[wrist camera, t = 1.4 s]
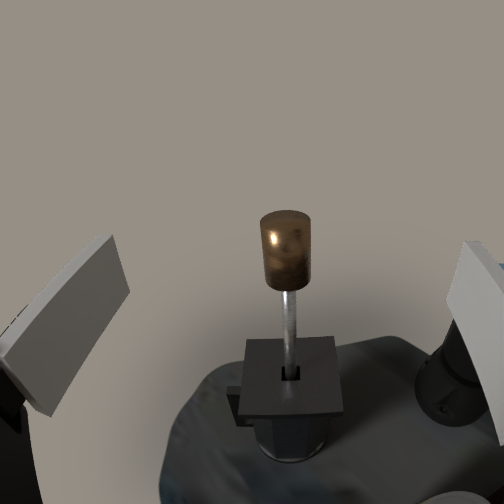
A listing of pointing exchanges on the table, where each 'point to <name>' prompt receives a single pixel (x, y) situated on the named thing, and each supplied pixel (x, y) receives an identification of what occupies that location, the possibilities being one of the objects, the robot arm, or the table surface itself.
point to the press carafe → (288, 397)
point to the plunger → (287, 270)
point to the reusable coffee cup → (456, 498)
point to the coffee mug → (497, 496)
